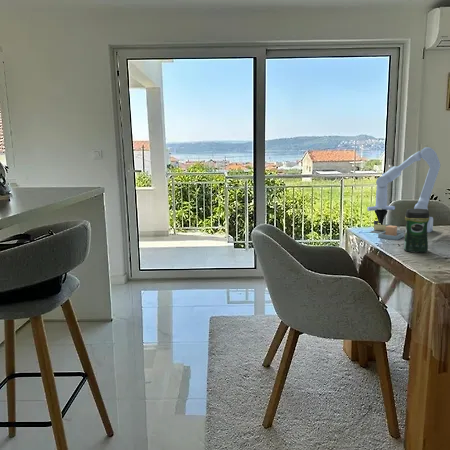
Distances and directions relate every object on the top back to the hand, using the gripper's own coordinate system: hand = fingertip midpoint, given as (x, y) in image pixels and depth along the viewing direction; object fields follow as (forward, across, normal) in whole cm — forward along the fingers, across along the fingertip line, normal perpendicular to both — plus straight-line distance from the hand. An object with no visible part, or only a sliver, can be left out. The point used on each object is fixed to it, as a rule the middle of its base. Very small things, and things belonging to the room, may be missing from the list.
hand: (380, 223), depth 217 cm
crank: (+3, -2, -7) cm, 8 cm away
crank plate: (+4, 0, -9) cm, 10 cm away
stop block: (+3, -5, -22) cm, 23 cm away
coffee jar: (+4, -6, -44) cm, 45 cm away
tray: (+4, -5, -22) cm, 23 cm away
